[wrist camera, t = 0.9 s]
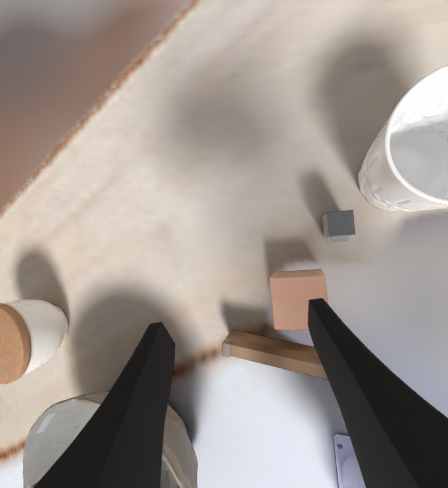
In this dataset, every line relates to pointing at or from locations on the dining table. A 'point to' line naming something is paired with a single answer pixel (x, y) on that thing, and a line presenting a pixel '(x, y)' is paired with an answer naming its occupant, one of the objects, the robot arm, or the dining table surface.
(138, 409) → the robot arm
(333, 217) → the grey blocks
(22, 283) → the dining table surface
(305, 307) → the block
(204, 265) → the dining table surface
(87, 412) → the ceramic bowl
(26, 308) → the lidded jar
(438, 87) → the white cup
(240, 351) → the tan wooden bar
